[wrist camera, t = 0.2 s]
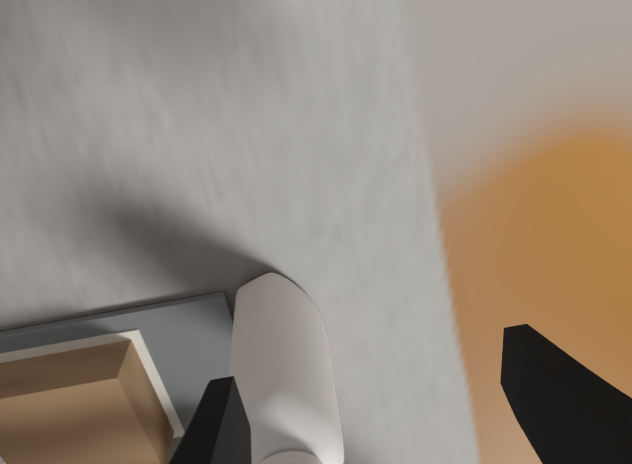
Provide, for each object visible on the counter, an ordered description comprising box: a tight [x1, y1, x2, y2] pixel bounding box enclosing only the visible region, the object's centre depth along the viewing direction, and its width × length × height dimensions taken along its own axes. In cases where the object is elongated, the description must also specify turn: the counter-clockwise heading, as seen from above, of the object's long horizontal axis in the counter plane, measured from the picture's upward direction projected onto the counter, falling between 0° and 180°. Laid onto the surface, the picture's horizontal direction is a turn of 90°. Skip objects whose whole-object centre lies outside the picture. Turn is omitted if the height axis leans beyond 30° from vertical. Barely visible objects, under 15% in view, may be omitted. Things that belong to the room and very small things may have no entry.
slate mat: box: [0, 291, 233, 464], centre depth 26 cm, size 14×12×1 cm
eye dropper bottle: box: [228, 272, 344, 464], centre depth 18 cm, size 4×6×12 cm
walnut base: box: [0, 340, 174, 464], centre depth 24 cm, size 7×7×2 cm
